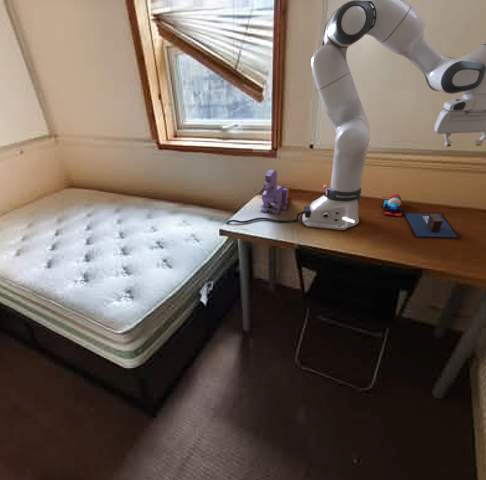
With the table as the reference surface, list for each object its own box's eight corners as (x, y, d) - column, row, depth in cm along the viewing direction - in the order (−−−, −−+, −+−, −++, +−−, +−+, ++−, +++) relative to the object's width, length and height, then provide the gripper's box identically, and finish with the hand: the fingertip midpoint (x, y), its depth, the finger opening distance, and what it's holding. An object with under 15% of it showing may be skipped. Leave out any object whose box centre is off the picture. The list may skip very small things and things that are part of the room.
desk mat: (416, 237, 120) (417, 236, 120) (404, 214, 136) (404, 213, 136) (457, 238, 117) (457, 237, 117) (440, 214, 133) (440, 213, 132)
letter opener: (439, 232, 121) (442, 221, 118) (431, 232, 121) (434, 220, 119) (428, 217, 131) (432, 206, 128) (421, 217, 131) (424, 206, 129)
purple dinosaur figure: (254, 215, 149) (253, 173, 138) (274, 195, 166) (275, 157, 155) (278, 218, 143) (279, 176, 133) (297, 197, 160) (299, 158, 150)
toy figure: (402, 220, 135) (403, 200, 144) (404, 209, 132) (405, 190, 141) (381, 219, 138) (384, 200, 148) (382, 209, 135) (385, 190, 144)
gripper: (509, 98, 109) (492, 142, 117) (439, 103, 114) (428, 144, 122) (518, 101, 104) (501, 146, 112) (445, 105, 109) (433, 148, 117)
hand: (462, 145), depth 117 cm, fingers open, 8 cm apart
